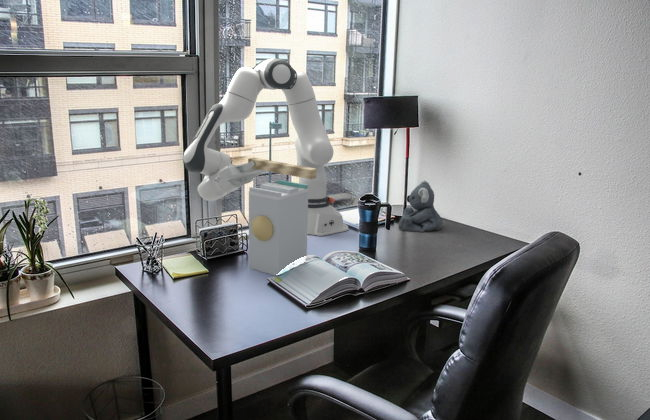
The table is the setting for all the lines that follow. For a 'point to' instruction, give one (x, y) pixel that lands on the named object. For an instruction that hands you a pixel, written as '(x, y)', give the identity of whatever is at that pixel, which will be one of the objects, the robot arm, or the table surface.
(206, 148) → the robot arm
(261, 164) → the maple shaft
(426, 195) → the koala plush
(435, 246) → the table surface
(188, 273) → the table surface
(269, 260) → the grey box with disc
